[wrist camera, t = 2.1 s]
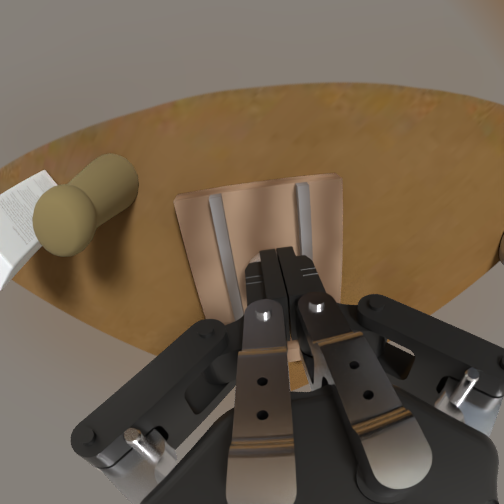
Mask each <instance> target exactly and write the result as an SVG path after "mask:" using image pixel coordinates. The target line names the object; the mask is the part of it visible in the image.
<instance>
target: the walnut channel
mask: <svg viewBox="0 0 504 504" xmlns="http://www.w3.org/2000/svg"><path fill="white" fill-rule="evenodd" d="M173 202H174V206H175V210H176V214H177V218H178V222H179V226H180V230H181V234H182V238H183V241H184V245H185V249H186V253H187V256H188V260H189V264H190V267H191V271H192V274H193V278H194V281H195V285H196V288H197V292H198V295H199V298H200V302H201V305H202V308H203V312H204V315H205V318H206V319H216V320H219V321H221V322H222V323H223V324H224V325H227V324H230V323H232V322H235V321H237V320H238V319H240V318H241V317H242V316H243V315H244V312H245V309H246V308H247V296H246V280H245V279H246V278H245V269H246V267H247V266H248V264H249V262H250V261H251V259H252V258H253V257H254V256H256V255H257V254H259V251H260V250H267V249H274V248H275V250H276V248H281V247H288V246H292V247H293V250H294V252H295V255H296V256H301V255H306V256H307V257H308V258H310V259H311V260H312V261H313V263H314V265H315V268H316V270H317V272H318V275H319V277H320V279H321V282H322V284H323V286H324V288H325V291H326V293H327V294H329V295H331V296H332V297H333V298H334V299H335V301H336V302H337V303H340V297H341V279H342V251H343V186H342V178H341V177H340V176H339V175H337V174H336V173H329V174H318V175H308V176H299V177H290V178H282V179H274V180H266V181H258V182H251V183H244V184H237V185H230V186H224V187H217V188H211V189H205V190H199V191H194V192H188V193H182V194H178V195H177V196H176V198H175V200H174V201H173ZM287 345H288V353H287V358H288V362H292V361H299V360H301V357H300V351H299V342H298V340H293V341H292V339H291V338H290V341H287Z"/></svg>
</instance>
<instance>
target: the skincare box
mask: <svg viewBox="0 0 504 504" xmlns="http://www.w3.org/2000/svg"><path fill="white" fill-rule="evenodd" d="M54 186H58V185H57V184H56V183H55V182H54V180H53V179H52V178H51V177H50V176H49V174H48V173H47V172H46V170H43V171H41V172H39V173H37V174H35V175H33V176H32V177H30V178H28V179H26V180H24V181H23V182H21V183H19V184H17V185H16V186H14V187H12V188H10V189H9V190H7V191H5V192H4V193H2V194H1V195H0V291H1V290H3V288H4V287H5V286H6V285H7V284H8V282H9V281H10V280H11V279H12V278H13V277H14V276H15V274H16V273H17V272H18V271H19V270H20V269H21V268H22V267H23V266H24V264H25V263H26V262H27V261H28V260H29V259H30V258H31V257H32V256H33V255H34V254H35V253H36V252H37V251H38V250H39V249H40V248H41V247H42V245H41V244H40V242H39V241H38V239H37V237H36V235H35V232H34V229H33V221H32V217H33V212H34V208H35V205H36V203H37V201H38V200H39V198H40V197H41V195H42V194H43V193H45V192H46V191H47V190H49V189H50V188H52V187H54Z"/></svg>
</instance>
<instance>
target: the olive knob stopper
mask: <svg viewBox="0 0 504 504" xmlns="http://www.w3.org/2000/svg"><path fill="white" fill-rule="evenodd" d="M138 187H139V182H138V176H137V173H136V171H135V169H134V167H133V165H132V164H131V163H130V162H129V161H128V160H127V159H126V158H124V157H122V156H120V155H117V154H111V153H110V154H104V155H101V156H99V157H98V158H96V159H94V160H93V161H92V162H91V163H90V164H89V165H88V166H86V167H85V168H84V169H83V170H82V171H81V172H80V173H79V174H78V175H76V176H75V177H74V178H73V179H72V180H71V181H70V182H69V183H68V184H64V185H58V186H54V187H52V188H50V189H49V190H47V191H46V192H45V193H43V194H42V195H41V197H40V198H39V200H38V201H37V203H36V205H35V208H34V212H33V217H32V221H33V229H34V232H35V235H36V237H37V239H38V241H39V242H40V244H41V245H42V246H43V247H44V248H45V249H46V250H47V251H48V252H50V253H52V254H53V255H57V256H60V257H69V256H74V255H76V254H78V253H80V252H82V251H83V250H84V249H85V248H86V247H87V246H88V244H89V243H90V242H91V241H92V239H93V236H94V233H95V231H96V228H97V227H99V226H100V225H102V224H103V223H105V222H106V221H108V220H109V219H111V218H112V217H114V216H115V215H117V214H118V213H120V212H121V211H123V210H125V209H126V208H128V207H129V206H130V205H131V204H132V203H133V202H134V200H135V198H136V196H137V193H138Z"/></svg>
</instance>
